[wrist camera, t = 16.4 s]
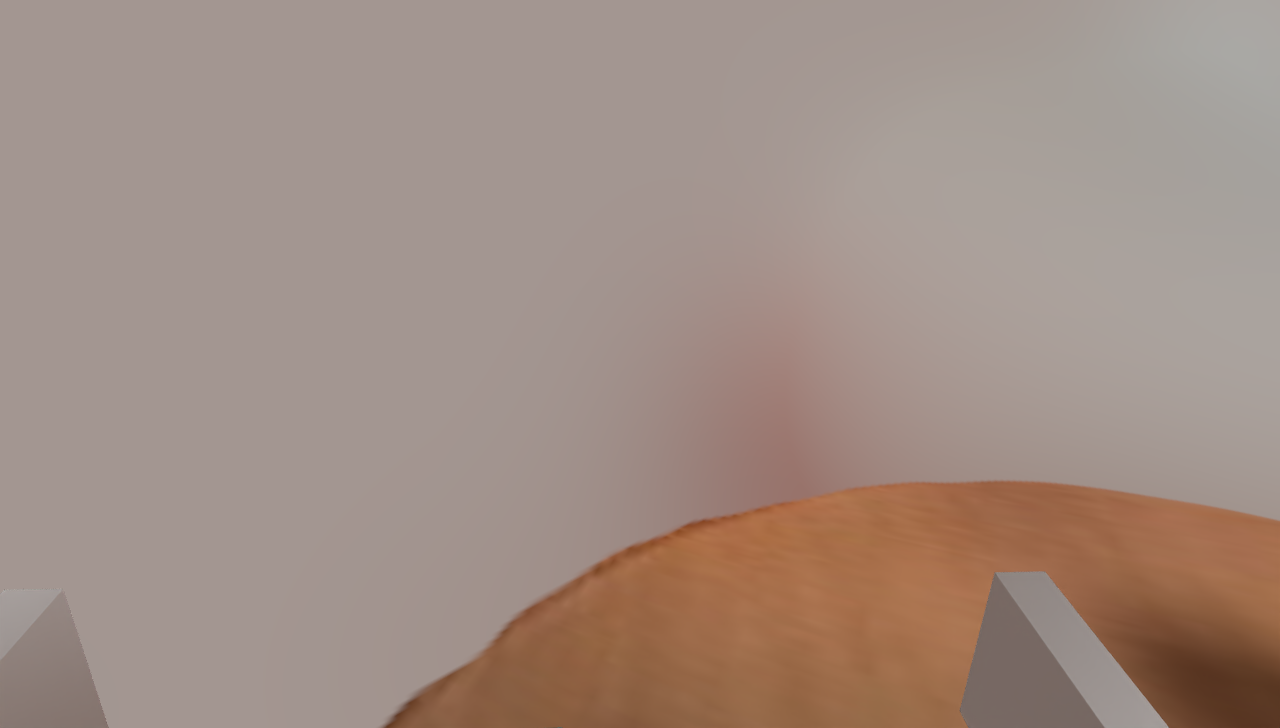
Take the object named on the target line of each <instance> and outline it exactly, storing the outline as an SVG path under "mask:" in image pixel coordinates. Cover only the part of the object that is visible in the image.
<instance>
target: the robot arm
mask: <svg viewBox="0 0 1280 728" xmlns="http://www.w3.org/2000/svg"><path fill="white" fill-rule="evenodd" d="M960 712H961V714H962V716H963V718H964V720H965V722H966V724H967V726H968V728H1169V727H1168V726H1167V724H1166V723H1165V722H1164V721H1163V719H1162V718H1161V717H1160V716H1159V714H1158V713H1157V712H1156V711H1155V709H1154V708H1153V707H1152V706H1151V704H1150V703H1149V702H1148V701H1147V699H1146V698H1145V697H1144V695H1143V694H1142V693H1141V692H1140V690H1139V689H1138V688H1137V687H1136V685H1135V684H1134V683H1133V682H1132V680H1131V679H1130V678H1129V677H1128V675H1127V674H1126V673H1125V672H1124V670H1123V669H1122V668H1121V667H1120V665H1119V664H1118V663H1117V662H1116V660H1115V659H1114V658H1113V657H1112V655H1111V654H1110V653H1109V651H1108V650H1107V649H1106V648H1105V646H1104V645H1103V644H1102V643H1101V641H1100V640H1099V639H1098V638H1097V636H1096V635H1095V634H1094V633H1093V631H1092V630H1091V629H1090V628H1089V626H1088V625H1087V624H1086V623H1085V621H1084V620H1083V619H1082V618H1081V616H1080V615H1079V614H1078V613H1077V611H1076V610H1075V609H1074V608H1073V606H1072V605H1071V604H1070V602H1069V601H1068V600H1067V599H1066V597H1065V596H1064V595H1063V594H1062V592H1061V591H1060V590H1059V589H1058V587H1057V586H1056V585H1055V584H1054V582H1053V581H1052V580H1051V579H1050V577H1049V576H1048V575H1047V574H1046V572H996V573H995V574H994V578H993V581H992V585H991V589H990V593H989V597H988V601H987V605H986V609H985V613H984V617H983V621H982V625H981V629H980V633H979V637H978V641H977V645H976V649H975V652H974V656H973V660H972V664H971V668H970V672H969V676H968V680H967V684H966V688H965V692H964V696H963V700H962V704H961V708H960ZM0 728H108V725H107V722H106V719H105V716H104V713H103V710H102V706H101V703H100V700H99V697H98V695H97V691H96V688H95V685H94V682H93V679H92V676H91V673H90V670H89V667H88V664H87V660H86V657H85V654H84V651H83V648H82V645H81V642H80V639H79V636H78V633H77V630H76V627H75V624H74V621H73V618H72V615H71V611H70V608H69V605H68V602H67V599H66V596H65V593H64V590H63V589H33V590H32V589H31V590H4V591H3V592H2V593H1V594H0Z"/></svg>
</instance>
